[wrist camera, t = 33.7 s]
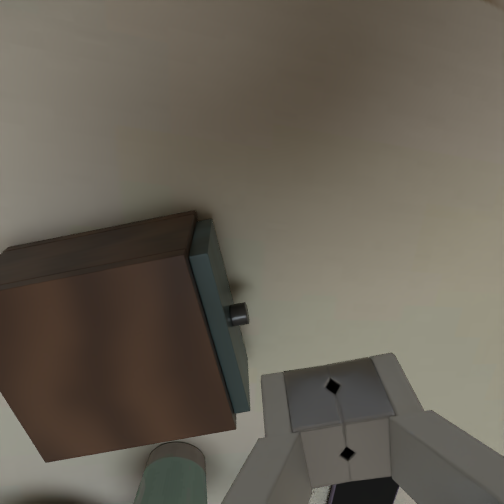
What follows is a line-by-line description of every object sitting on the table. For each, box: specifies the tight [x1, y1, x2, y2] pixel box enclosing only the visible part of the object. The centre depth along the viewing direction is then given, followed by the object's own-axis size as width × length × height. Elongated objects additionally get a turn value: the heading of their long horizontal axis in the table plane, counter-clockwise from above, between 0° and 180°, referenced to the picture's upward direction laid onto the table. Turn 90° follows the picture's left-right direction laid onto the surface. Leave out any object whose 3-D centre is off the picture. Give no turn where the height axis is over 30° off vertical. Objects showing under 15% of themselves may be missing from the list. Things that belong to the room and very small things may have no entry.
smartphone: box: [328, 476, 399, 504], centre depth 43 cm, size 7×1×15 cm
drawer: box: [189, 219, 250, 414], centre depth 29 cm, size 15×13×6 cm
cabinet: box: [0, 210, 236, 463], centre depth 30 cm, size 15×15×8 cm
